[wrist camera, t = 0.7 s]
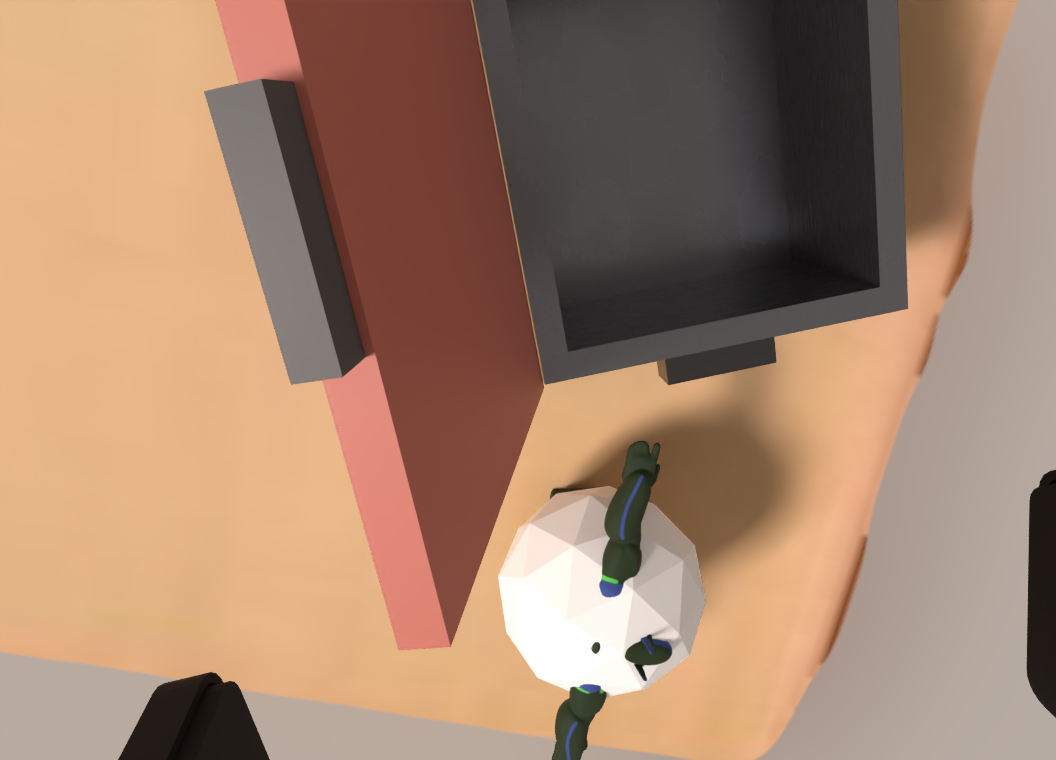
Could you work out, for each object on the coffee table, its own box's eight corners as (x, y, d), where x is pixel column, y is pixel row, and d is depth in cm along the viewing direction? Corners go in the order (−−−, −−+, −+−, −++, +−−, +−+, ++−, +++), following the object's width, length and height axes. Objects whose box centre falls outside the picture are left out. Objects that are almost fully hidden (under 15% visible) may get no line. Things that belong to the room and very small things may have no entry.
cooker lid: (452, -100, 27) (419, -91, 27) (125, -470, 10) (47, -439, 10) (543, 387, 32) (516, 391, 32) (436, 685, 15) (381, 688, 16)
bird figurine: (626, 657, 48) (689, 838, 35) (464, 639, 47) (469, 823, 34) (697, 391, 43) (799, 491, 31) (519, 362, 42) (550, 454, 29)
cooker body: (445, -67, 36) (444, -148, 26) (774, -127, 36) (890, -227, 27) (528, 359, 42) (551, 419, 32) (806, 301, 43) (908, 344, 33)
